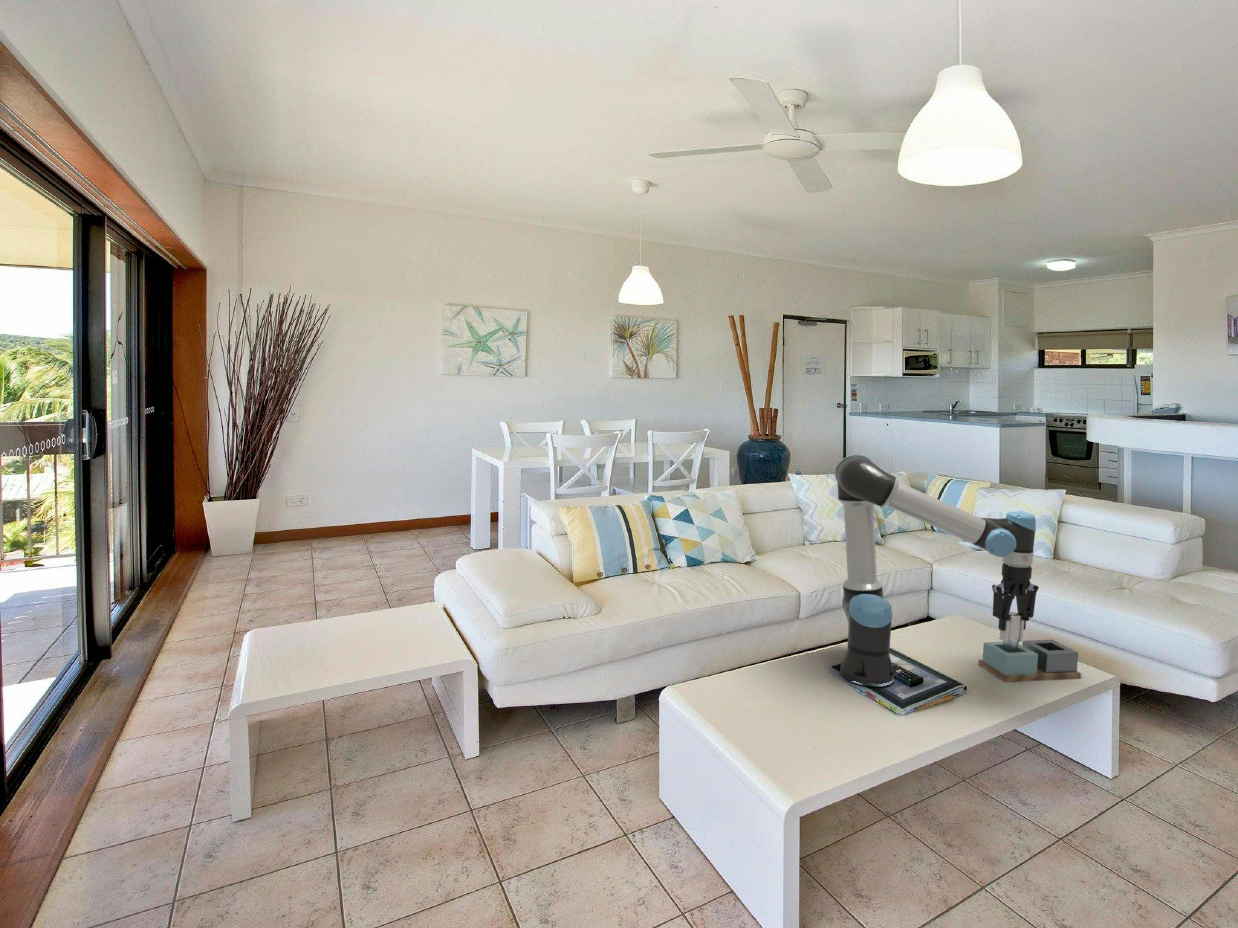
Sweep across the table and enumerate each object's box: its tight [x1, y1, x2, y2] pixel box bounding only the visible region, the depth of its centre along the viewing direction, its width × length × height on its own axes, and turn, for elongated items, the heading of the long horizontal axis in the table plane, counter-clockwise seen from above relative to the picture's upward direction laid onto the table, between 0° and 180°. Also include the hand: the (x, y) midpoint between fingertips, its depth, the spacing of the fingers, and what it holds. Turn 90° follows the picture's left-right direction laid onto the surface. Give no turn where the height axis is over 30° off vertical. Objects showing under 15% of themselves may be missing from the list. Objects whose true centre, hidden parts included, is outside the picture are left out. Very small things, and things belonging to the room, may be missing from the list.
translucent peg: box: [1002, 611, 1021, 653], centre depth 194 cm, size 4×4×14 cm
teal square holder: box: [981, 641, 1038, 675], centre depth 195 cm, size 10×10×6 cm
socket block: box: [1021, 639, 1079, 673], centre depth 196 cm, size 10×10×6 cm
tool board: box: [978, 659, 1082, 683], centre depth 196 cm, size 24×12×2 cm, turn 96°
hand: (1010, 639), depth 194 cm, fingers closed on translucent peg, 4 cm apart
